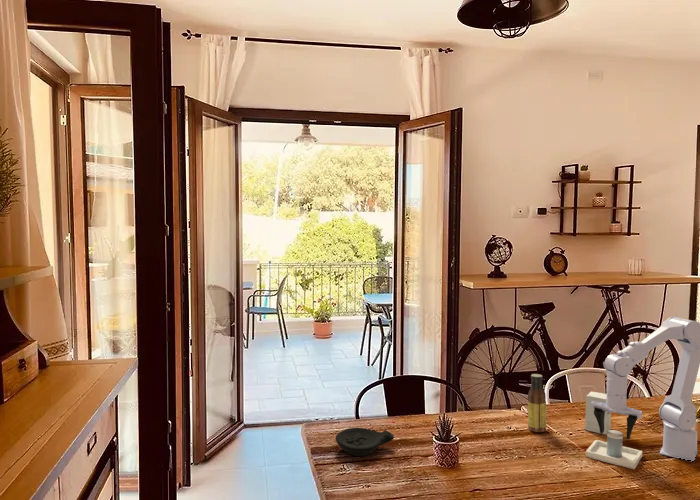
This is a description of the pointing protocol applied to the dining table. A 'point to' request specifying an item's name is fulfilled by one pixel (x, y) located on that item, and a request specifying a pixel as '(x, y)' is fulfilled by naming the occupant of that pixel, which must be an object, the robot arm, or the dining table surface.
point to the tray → (600, 453)
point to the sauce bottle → (536, 405)
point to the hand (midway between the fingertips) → (615, 435)
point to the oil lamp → (362, 440)
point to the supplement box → (590, 418)
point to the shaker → (614, 443)
